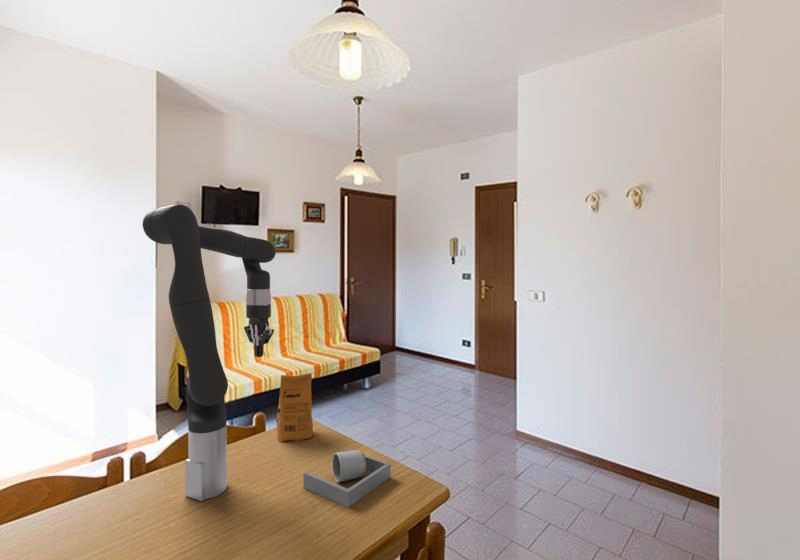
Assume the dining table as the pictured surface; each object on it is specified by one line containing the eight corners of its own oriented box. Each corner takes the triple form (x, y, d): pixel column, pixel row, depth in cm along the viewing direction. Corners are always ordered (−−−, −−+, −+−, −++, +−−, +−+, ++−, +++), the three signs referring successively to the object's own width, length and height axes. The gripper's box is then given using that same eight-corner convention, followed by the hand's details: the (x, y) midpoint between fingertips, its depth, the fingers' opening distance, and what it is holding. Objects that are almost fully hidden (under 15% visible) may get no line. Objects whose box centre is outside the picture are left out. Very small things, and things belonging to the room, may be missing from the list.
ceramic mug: (368, 480, 115) (368, 453, 115) (340, 487, 112) (340, 459, 111) (354, 464, 125) (354, 439, 125) (328, 470, 121) (328, 445, 121)
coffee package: (276, 432, 148) (276, 371, 148) (312, 429, 151) (312, 369, 151) (275, 443, 139) (275, 379, 138) (313, 440, 142) (313, 376, 141)
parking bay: (347, 507, 102) (348, 492, 102) (303, 487, 111) (303, 473, 111) (390, 477, 117) (390, 463, 117) (348, 461, 126) (348, 449, 126)
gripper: (236, 302, 133) (236, 355, 133) (261, 305, 125) (261, 361, 126) (256, 301, 139) (256, 352, 139) (281, 303, 131) (281, 357, 132)
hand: (258, 356), depth 132 cm, fingers closed
